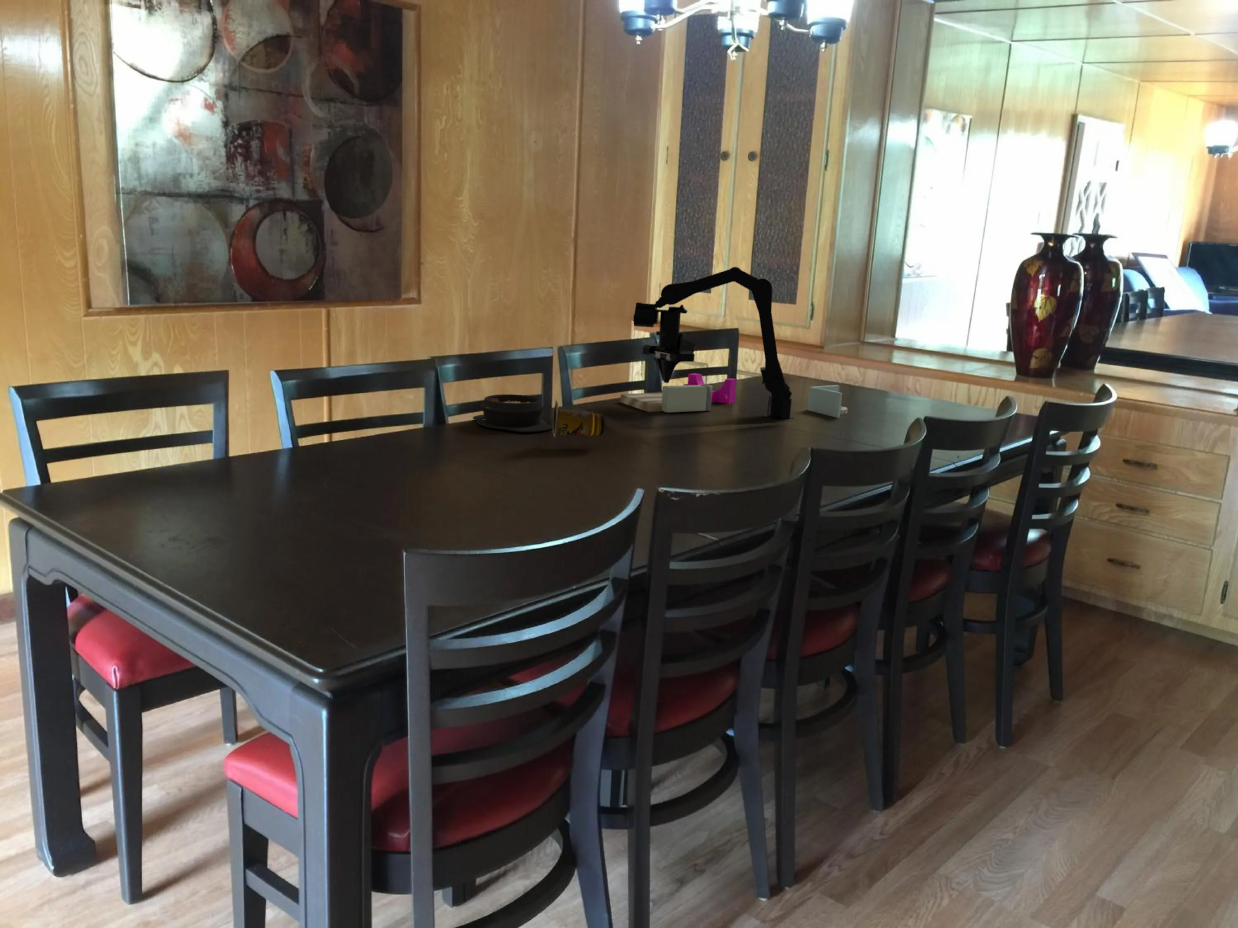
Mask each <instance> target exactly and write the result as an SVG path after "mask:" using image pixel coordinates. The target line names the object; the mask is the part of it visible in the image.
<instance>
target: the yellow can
mask: <svg viewBox="0 0 1238 928" xmlns="http://www.w3.org/2000/svg"><path fill="white" fill-rule="evenodd" d="M605 419H606V418H605V415H604V414H602V413H594V412H593V411H584V410H582V411H581V410H572V409H571V410H569V409H568V410H567V409H559V402H558V400H555V404H554V412H553V420H552V427H553V428H552V434H553V437H554V438H556V435H561V436H575V437H578V436H579V437H592V436H598V437H599V436H600V437H601V436H603V435H604V432H605V427H606V426H605V422H606V421H605Z"/></svg>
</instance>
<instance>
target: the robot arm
mask: <svg viewBox="0 0 1238 928" xmlns="http://www.w3.org/2000/svg"><path fill="white" fill-rule="evenodd" d="M733 282H735V283H736V284H738V285H740V286H742V287H744V288H745V289H747V290H749V291H751V294H752V297H753V300H754V303H755V306H756V309H757V312H758V317H759V325H760V333H761V339H762V345H763V347H762V348H763V353H764V361H765V362H764V367H759V369H760V374H761V376H762V380H761V384H762V385H764V387H765V390H767V391H768V392H769V393H770V395H768V396H769V397H768V401H767V410H766V412H767V413H766V414H763V415H762V416H763V417H766V418H769V419H773V420H777V421H779V420H780V421H781V420H794V419H795V417H791V410H792V389H791V388H790V386H789V385H788V383H786V379H785V376H784V372H783V370H782V367H781V364H780V361H779V357H778V349H777V344H776V341H777V340H776V336H775V329H774V320H773V312H772V304H773V285H772V282H771V280H769V279H768V278H765V277H760V278H757V277H755V276H754V275H752V274H750V273H748V272H746V271H744V270H742V269H741V268H740V267H738V266H732V267H730V268H729V269H725V270H722V271H719V272H717V273H714V274H710V275H707V276H704V277H701V278H697V279H694V280H692V281H691V280H690V281H682V282H674V283H669V284H666V285H665V286H664V287H663V288H662V290H660V297H659V298H658V299H657V300H656V301H655V303H645V302H638V301H637V302H636V303H635V308H634V314H633V326H634V327H643V328H654V327H655V325H659V330H656V332H655V333H656V336H659V337H658V344H651V343H650V344H645V345H644V346H643V347H642V354H643V355H645V356H646V355H647V356H650V355H654V354H655V356H654V357H653V358H652V360H654V362H655V365H656V366H657V368H658V369H657V370H658V371H659V374H660V375H661V378H662V381H663V383H664V384H669V383H670V380H671V377H672V375H673V372H674V370H675V368H676V366H677V365H678V364H680V363H683V362H685V363H686V362H687V363H688V362H690V363H691V362H695V356H696V355H695V350H696V347H697V343H695V342H694V341H693V342H692V341H690V340H688V339H686V338H685V337H684V334H683V332H681V331H680V328H681V315H682V314H686V315H687V313H688V309H686V308H685V306H684V304H681V305H680V306H674V305H676V304H679V303H680V302H683V300H686V299H687V298H689V297H691V296H693V295H695V294H698V293H701V292H705V291H708V290H711V289H714V288H717V287H721V286H723V285H726V284H730V283H733ZM666 305H668V309H662V308H663V307H665V306H666ZM659 313H660V314H659ZM659 315H660V316H659ZM659 317H660V318H659ZM658 323H659V324H658Z"/></svg>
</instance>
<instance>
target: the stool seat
mask: <svg viewBox="0 0 1238 928" xmlns="http://www.w3.org/2000/svg"><path fill="white" fill-rule="evenodd" d="M619 403H621V404H625V405H627V406H631V407H633V408H637V409H638V410H642V411H645V412H647V413H652V412H662V411H661V405H662V392H645V393H643V392H642V393H641V392H640V393H639V392H638V393H620V401H619Z"/></svg>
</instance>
